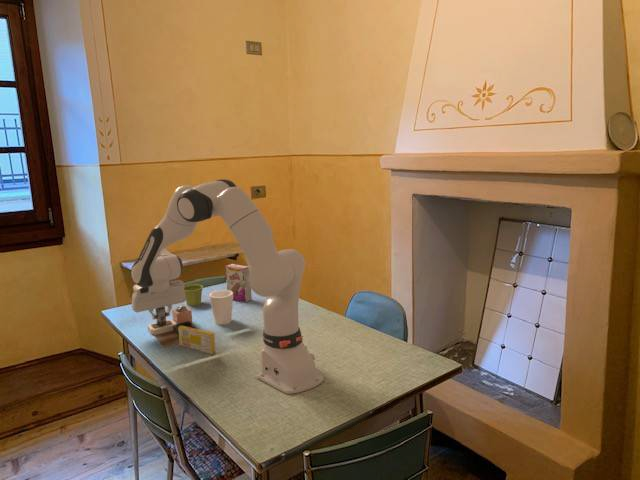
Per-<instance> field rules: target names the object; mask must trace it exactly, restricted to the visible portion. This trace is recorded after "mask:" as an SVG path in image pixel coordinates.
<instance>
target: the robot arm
mask: <svg viewBox="0 0 640 480" xmlns="http://www.w3.org/2000/svg"><path fill="white" fill-rule="evenodd" d="M217 216H218V217H220V218H221V219H222V220H223V222H224V223H225V225H226V227H227V228H228V230H229V231H230V232H231V235H232V236H233V237H234V239H235V240H236V242H237V244H238V246H240V249H241V250H242V252H243V254H244V257H245V260H246V262H247V263H246V264H247V266H248V267H249V272H250V273H249V284H250V286H251V291H253V292H254V294H257V295H258V296H260V297H266V298H265V301H264V303H263V307H262V310H263V311H262V312H263V315H262V316H263V317H262V318H263V331H262V339H263V346H262V349H261V351H260V358H259V359H260V360H259V361H260V362H259V363H260V367H259V368H260V369H259V372H258V373H257V374H256V378H257V379H258V380H260V381H262V382H264V383H265V384H267V385H269V386H271V387H273V388H275V389H276V390H278V391H281V392H282V393H284V394H286V395H291V394H297V393H302V392H305V391H308V390H310V389H313V388H315V387H318V386H319V385H320V384H322V383H323V382H324V376H323V375H322V373H320V371H319V370H318V369H317V368H316V363H315V359H316V358H315V357H316V356H315V354H314V353H310V351H309V350H308V347H307V345H306V346H305V344H304V341H303V337H304V336H303V335H302V332H301V328H300V326H299V299H300V295H301V285H302V279H303V278H302V277H303V274H304V271H305V268H306V260H305V257H304V255H303V254H302V253H301V252H300V251H298V250H296V249H293V248H288V249H287V248H286V249H281V250H279V251H278V250H277V247H276V245H275V240H274V236H273V235H274V232H273V228H272V227H271V225H270V224H269V223H268V221H267V219H266V218H265V217H264V215H263V214H262V212H261V210H260V209H259V208H258V206H257V205H256V204H255V202H254V201H253V200H252V198H251V197H250V196H249V194H247V193H246V192H245V191H244V190H243V189H242V188H241V187H238V186H237V185H236V184H235V183H234V181H232V180H229V179H221V178H220V179H217V180H214V181H210V182H203V183H200V184H198V185H195V186H192V185H187V184H185V185H184V184H183V185H180V186H179V187H177V188H175V190H174V192H173V194H172V195H171V198H170V200H169V202H168V205H167V208H166V212H165V214H164V215H163V217H162V219H161V220H160V221H159V223H158V224H157V225H156V226H155V227H154V228H153V229H152V230H151V231H150V233H149V235H148V237H147V239H146V241H145V243H144V244H143V247H142V249H141V251H140V253H139V256H138V258H137V259H136V260H135V262H134V263H133V264H132V267H131V269H130V276H131V280H132V282H133V283H134V285H133V286H132V289H133V292H132V296H131V308H132V311H133V312H135V313H136V314H137V313H141V312H146V311H147V312H149V313H150V315H151V317H152V320H157V314H156V313H154V310H156V308H160V307H165V308H166V307H167V309H166V310H165V312H166V318H167V317H170V316H171V315H170V314H171V313H170V312H171V311H172V309H173V306H174V305H178V304H182V303H185V302H186V296H185V292H184V288H185V286H186V285H185V281H183V280H181V279H178V278H180V277H181V276H182V274H183V271H184V263H183V261H182V258H180V256H178V255H177V254H173V253H171V252H170V251H168V249H167V247H169V246H170V245H173V244H176V243H177V242H180V241H183V240H186V239H187V238H189V237H190V236H191V235H193V233H194V232H195V230H196V228H197V227H198V223H200V222H203V221H206V220H209V219H211V218H213V217H217Z"/></svg>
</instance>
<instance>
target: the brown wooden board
mask: <svg viewBox="0 0 640 480" xmlns="http://www.w3.org/2000/svg"><path fill="white" fill-rule="evenodd" d="M192 323H193V322H192ZM192 323H191V322H190V321H188V322H184V323H179V324H176V325H173V330H172V331H168V332H164V333H160V334H156V335H154V334H152V335H153V337H155V338H156V340H157V341H158V342H159V343H160V344H161V345H162V347H163V348H165V349H166V348H170V347H173V346H177V345H180V343H179V330H178V327H179V326H181V325H182V326H186V327H190V328H195V329H199V328H198V327H196V325H195V324H194V323H193V324H192ZM167 326H168V325H167ZM163 327H164V326H163ZM159 328H160V327H159ZM155 329H156V328H155Z"/></svg>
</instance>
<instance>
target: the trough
mask: <svg viewBox="0 0 640 480" xmlns="http://www.w3.org/2000/svg"><path fill="white" fill-rule="evenodd" d="M166 323H167V324H166V325H165V326H164V327H163V326H157V321H156V322H152V323H148V325H147V326H146V327H147V331H148V332H149V333H150V335H153V334H154V335H156V334H160V333H164V332H168V331H172V330H173V325H176V324H177V323H176V322H175V321H174V320H173V319H170V318H169V319H166ZM167 325H168V326H167ZM159 327H160V328H159ZM155 328H156V329H155ZM154 335H153V336H154Z"/></svg>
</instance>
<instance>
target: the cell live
mask: <svg viewBox="0 0 640 480" xmlns="http://www.w3.org/2000/svg"><path fill="white" fill-rule="evenodd" d="M165 311H166V306H165V307H160V308H156V309H155V314H157V319H156V322H157V326H165V325H166V324H167V323H166V320H167V317H166V312H165Z"/></svg>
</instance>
